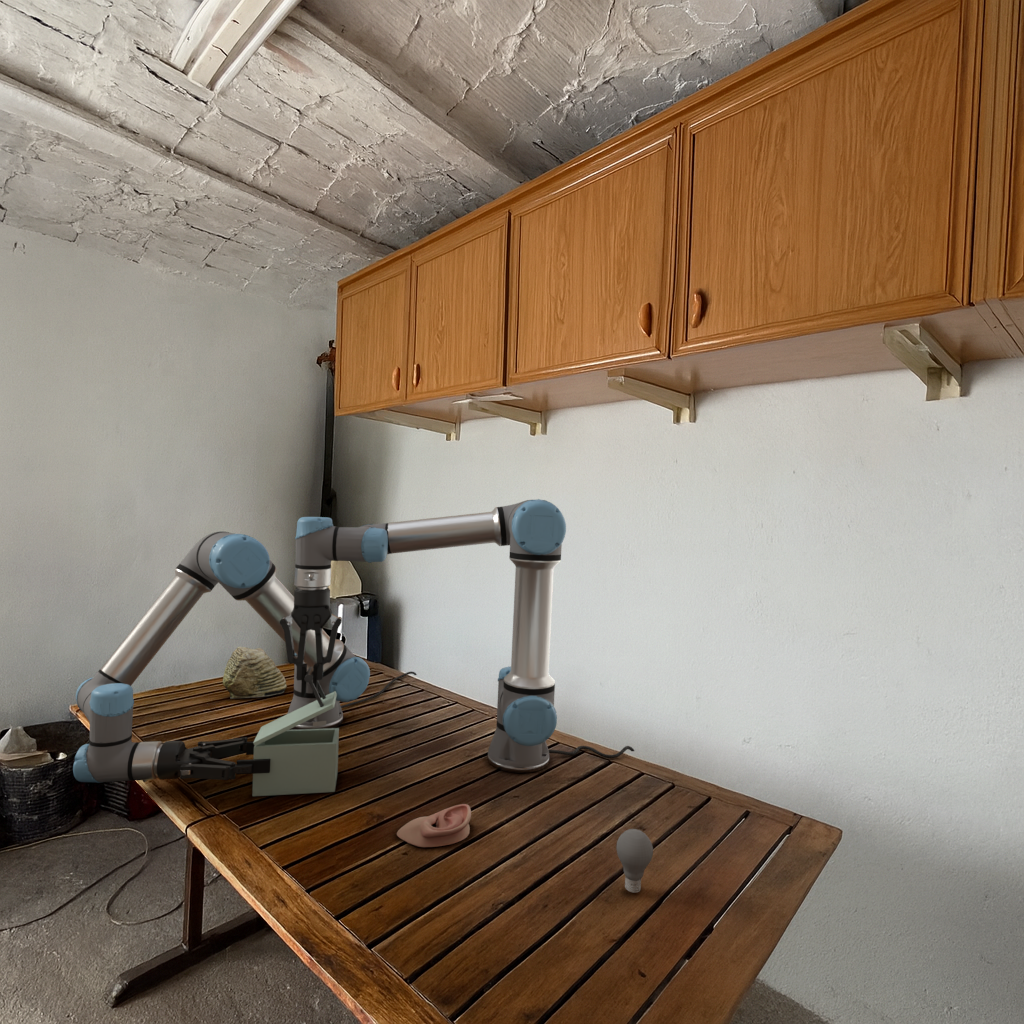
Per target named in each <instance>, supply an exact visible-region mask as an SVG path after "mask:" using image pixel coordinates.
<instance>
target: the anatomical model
mask: <svg viewBox="0 0 1024 1024" xmlns="http://www.w3.org/2000/svg"><path fill="white" fill-rule="evenodd" d="M471 819H472V809H471V806H470V805H469V804H468V803H462V804H461V803H460V804H456V805H452V806H450V807H447V808H445V809H442V810H439V811H437V812H436V813H433V814H431V815H428V816H426V815H425V816H420V817H417V818H414V819H412V820H410V821H408V822H407V823H405V824H404V825H402V826H401V827H400V828H399V829H398V830H397V832H396V836H397V837H398V838H399V839H401V840H402V841H403V842H406V843H408V844H409V845H413V846H415V847H419V848H435V847H442V846H443V847H444V846H448V845H449V846H450V845H453V844H456V843H458V842H461V841H463V840H465V839H466V838H468V836H469V835H470V832H471V831H470V830H471V829H470V828H471V827H470V824H469V823H470V821H471Z"/></svg>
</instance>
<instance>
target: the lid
mask: <svg viewBox="0 0 1024 1024" xmlns="http://www.w3.org/2000/svg"><path fill="white" fill-rule="evenodd" d="M304 679H305V681H306V682H309V684H310V686H311V688H312V690H313V692H314V695H315V697H316V699H317V700H316V701H314V702H312V703H310V704H307V705H305V706H303V707H301V708H299V709H297V710H295V711H293V712H291V713H289V714H287V713H286V714H285V715H283V716H280V717H278V718H277V719H275V720H272V721H270V722H268V723H266V724H264V725H262V726H260V728H259V730H258V732H257V734H256V736H255V738H254V740H253V741H254V742H253V741H252V742H253V743H254V745H255V746H256V745H259V744H261V743H263V742H265V741H267V740H269V739H271V738H273V737H275V736H277V735H279V734H281V733H283V732H285V731H287V730H292V729H291V728H293V727H295V726H297V725H300V724H302V723H304V722H306V721H308V720H310V719H312V718H314V717H316V716H318V715H320V714H322V713H324V712H326V711H328V710H330V709H332V708H334V706H335V701H336V696H337V693H336V691H334V692H332V693H330V694H328V695H326V696H325V694H324V692H323V690H322V688H321V686H320V684H319V682H318V687H317V688H318V690H319V692H320V694H321V697H322V698H320V696H319V694H318V692H317V690H316V688H315V685H314V683H313V681H312V679H313V667H310V668H309V669H308V671H307V673H306V675H305V678H304Z"/></svg>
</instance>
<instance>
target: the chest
mask: <svg viewBox="0 0 1024 1024" xmlns="http://www.w3.org/2000/svg"><path fill="white" fill-rule="evenodd" d="M339 737H340V727H335V728H327V729H298V730H292V729H289V730H287V731H285V732H283V733H281V734H279V735H277V736H275V737H273V738H271V739H269V740H267V741H265V742H263V743H261V744H259V745H256V746H254V755H253V759H270V773H257V774H252V791H251V793H252V794H251V795H252V797H266V796H267V797H269V796H284V795H286V796H287V795H302V794H322V793H335V792H336V786H337V780H338V773H339V772H338V771H339V741H340V739H339Z"/></svg>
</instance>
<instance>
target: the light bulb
mask: <svg viewBox="0 0 1024 1024" xmlns="http://www.w3.org/2000/svg"><path fill="white" fill-rule="evenodd" d="M615 849H616V854H617V857H618V859H619V861H620V863H621V865H622V867H623V873H624V874H623V875H624V876H625V878H624V888H625V890H627V891H628V892H630V893H634V894H635V893H639V892H640V891H641V889H642V887H641V886H642V879H643V877H644V875H645V871H646V868H647V867H648V866H649V864H650V863H651V861H652V859H653V855H654V847H653V843H652V841H651V838H649V836H648V835H647V834H646V833H645V832H643V831H642V830H641V829H636V828H629V829H627V830H625V831H623V832H622V833H621V834H620V835H619V837H618V839H617V841H616V847H615Z"/></svg>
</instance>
